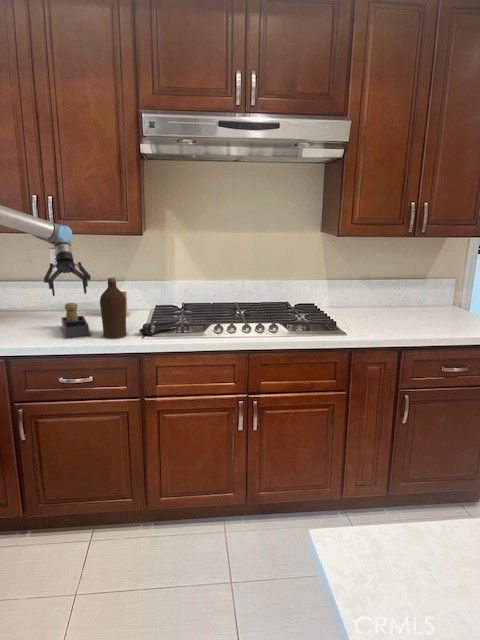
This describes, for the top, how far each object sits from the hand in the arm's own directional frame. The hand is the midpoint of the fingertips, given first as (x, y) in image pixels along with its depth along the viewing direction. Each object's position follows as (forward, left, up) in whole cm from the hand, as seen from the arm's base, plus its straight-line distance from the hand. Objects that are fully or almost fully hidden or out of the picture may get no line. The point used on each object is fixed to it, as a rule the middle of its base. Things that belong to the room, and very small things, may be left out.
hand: (69, 293), depth 211 cm
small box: (+23, +9, -15) cm, 29 cm away
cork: (0, -7, -14) cm, 16 cm away
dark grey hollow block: (0, -12, -15) cm, 19 cm away
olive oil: (+15, -24, -15) cm, 32 cm away
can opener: (+34, -26, -15) cm, 45 cm away
